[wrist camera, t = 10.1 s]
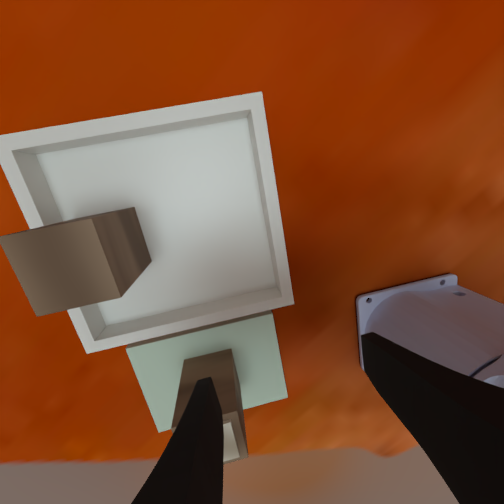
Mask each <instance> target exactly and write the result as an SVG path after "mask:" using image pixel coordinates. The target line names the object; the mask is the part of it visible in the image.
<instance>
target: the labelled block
mask: <svg viewBox="0 0 504 504" xmlns="http://www.w3.org/2000/svg"><path fill="white" fill-rule="evenodd" d="M207 377H211V378H212V381H213V384H214V387H215V390H216V393H217V397H218V400H219V403H220V406H221V409H222V416H223V429H224V459H223V464H226V463H230V462H233V461H236V460H240V459H244V458H248V449H247V440H246V432H245V423H244V414H243V405H242V397H241V388H240V383H239V378H238V374H237V370H236V366H235V361H234V357H233V353H232V349H226V350H222V351H218V352H214V353H210V354H206V355H202V356H197V357H193V358H189V359H185V360H184V362H183V368H182V373H181V378H180V383H179V389H178V394H177V399H176V404H175V410H174V415H173V420H172V426H171V430H172V432H173V433H174V431H175V429H176V427H177V425H178V423H179V421H180V419H181V416H182V414H183V412H184V410H185V408H186V406H187V403H188V401H189V399H190V396H191V394H192V392H193V389H194V387H195V384H196V382H197V381H198V380H200V379H203V378H207Z"/></svg>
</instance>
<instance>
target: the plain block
mask: <svg viewBox="0 0 504 504" xmlns="http://www.w3.org/2000/svg"><path fill="white" fill-rule="evenodd" d="M0 244H1V246H2V248H3V250H4V252H5V254H6V256H7V258H8V260H9V262H10V264H11V266H12V268H13V270H14V272H15V274H16V276H17V278H18V280H19V282H20V284H21V286H22V288H23V290H24V292H25V294H26V296H27V298H28V300H29V302H30V304H31V306H32V308H33V310H34V312H35V314H36V316H37V317H38V316H42V315H46V314H51V313H55V312H60V311H64V310H69V309H73V308H78V307H82V306H86V305H91V304H95V303H100V302H104V301H109V300H113V299H118V298H121V297H122V296H123V295H124V294H125V293H126V291H127V290H128V289H129V288H130V287H131V285H132V284H133V283H134V282H135V281H136V280H137V278H138V277H139V276H140V275H141V274H142V273H143V271H144V270H145V269H146V268H147V267H148V265H149V264H150V263H151V262H152V260H151V257H150V254H149V251H148V248H147V245H146V242H145V238H144V235H143V232H142V229H141V226H140V223H139V220H138V217H137V214H136V210H135V207H131V208H126V209H121V210H116V211H111V212H106V213H101V214H96V215H91V216H86V217H80V218H75V219H71V220H67V221H63V222H58V223H54V224H50V225H46V226H42V227H38V228H33V229H29V230H25V231H21V232H17V233H12V234H8V235H4V236H0Z"/></svg>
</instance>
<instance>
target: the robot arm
mask: <svg viewBox="0 0 504 504" xmlns="http://www.w3.org/2000/svg"><path fill="white" fill-rule="evenodd" d="M368 298H369V300H368V301H366V300H367V299H368ZM356 307H357V321H358V335H359V349H360V363H361V368H362V369H363V370H364V371H365V372H366V374H367V376H368V377H369V379H370V381H371V382H372V384H373V385H374V387H375V388H376V390H377V391H378V393H379V394H380V395H381V397H382V398H383V399H384V400H385V402H386V403H387V404H388V405H389V407H390V408H391V409H392V410H393V412H394V413H395V414H396V415H397V417H398V418H399V419H400V420H401V422H402V423H403V424H404V425H405V427H406V428H407V429H408V430H409V432H410V433H411V434H412V435H413V437H414V438H415V439H416V441H417V442H418V443H419V445H420V446H421V447H422V448H423V450H424V451H425V453H426V454H427V455H428V457H429V458H430V460H431V461H432V463H433V464H434V466H435V467H436V469H437V470H438V472H439V473H440V475H441V476H442V478H443V479H444V481H445V482H446V484H447V485H448V487H449V488H450V490H451V491H452V493H453V494H454V496H455V497H456V499H457V500H458V502H459V504H504V304H502V303H500V302H497V301H495V300H492V299H490V298H488V297H485V296H483V295H480V294H478V293H476V292H473V291H471V290H468V289H466V288H464V287H461V286H459V285H457V276H456V275H454V274H452V273H451V274H446V275H442V276H438V277H433V278H429V279H425V280H421V281H417V282H413V283H409V284H405V285H400V286H396V287H392V288H388V289H384V290H380V291H376V292H372V293H367V294H363V295H360V296H358V297H357V299H356ZM223 459H224V429H223V416H222V409H221V406H220V403H219V400H218V397H217V393H216V390H215V387H214V384H213V381H212V378H211V377H207V378H203V379H200V380H198V381H197V382H196V384H195V387H194V389H193V392H192V394H191V396H190V399H189V401H188V403H187V406H186V408H185V410H184V412H183V414H182V416H181V419H180V421H179V423H178V425H177V427H176V429H175V431H174V433H173V435H172V437H171V439H170V441H169V442H168V444H167V446H166V448H165V450H164V452H163V454H162V455H161V457H160V459H159V461H158V462H157V464H156V466H155V468H154V469H153V471H152V472H151V474H150V476H149V477H148V479H147V481H146V482H145V484H144V485H143V487H142V488H141V490H140V491H139V493H138V494H137V496H136V497H135V499H134V500H133V502H132V503H131V504H222V496H223Z"/></svg>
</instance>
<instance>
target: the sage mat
mask: <svg viewBox="0 0 504 504" xmlns="http://www.w3.org/2000/svg"><path fill="white" fill-rule="evenodd" d="M226 349H232V353H233V357H234V361H235V366H236V370H237V374H238V378H239V383H240V388H241V397H242V405H243V409H247V408H251V407H254V406H258V405H262V404H265V403H269V402H273V401H276V400H280V399H284V398H288V395H287V390H286V384H285V379H284V373H283V368H282V362H281V357H280V352H279V346H278V341H277V335H276V330H275V324H274V319H273V314H272V311H271V310H269V311H264V312H260V313H256V314H252V315H248V316H244V317H239V318H235V319H231V320H227V321H223V322H219V323H214V324H210V325H206V326H202V327H198V328H194V329H190V330H185V331H181V332H177V333H173V334H169V335H165V336H160V337H156V338H152V339H148V340H144V341H140V342H135V343H131V344H128V346H127V347H126V351H127V354H128V356H129V359H130V361H131V364H132V366H133V369H134V371H135V374H136V376H137V379H138V381H139V384H140V386H141V389H142V391H143V394H144V396H145V399H146V401H147V404H148V406H149V409H150V411H151V414H152V417H153V419H154V422H155V424H156V427H157V429H158V432H162V431H166V430H169V429H171V426H172V420H173V415H174V410H175V404H176V399H177V394H178V389H179V383H180V378H181V373H182V368H183V362H184V360H185V359H189V358H193V357H197V356H202V355H206V354H210V353H214V352H218V351H222V350H226Z"/></svg>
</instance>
